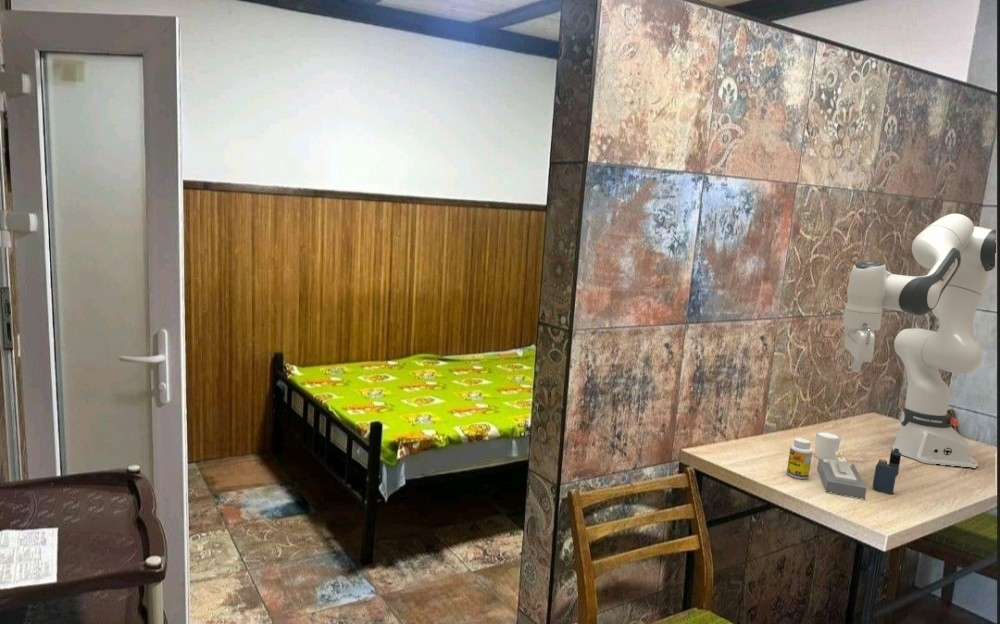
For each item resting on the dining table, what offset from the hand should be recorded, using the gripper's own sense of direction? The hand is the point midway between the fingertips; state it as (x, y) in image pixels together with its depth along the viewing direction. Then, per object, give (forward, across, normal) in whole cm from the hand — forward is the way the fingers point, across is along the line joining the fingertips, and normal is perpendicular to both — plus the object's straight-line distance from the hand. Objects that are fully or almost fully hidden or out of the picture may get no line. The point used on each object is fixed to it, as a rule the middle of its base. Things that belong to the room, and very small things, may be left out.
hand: (855, 371), depth 179 cm
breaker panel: (+30, -8, +2) cm, 31 cm away
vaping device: (+30, -8, -9) cm, 32 cm away
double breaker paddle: (+25, -8, +2) cm, 26 cm away
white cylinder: (+30, +13, +2) cm, 33 cm away
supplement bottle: (+30, -8, +12) cm, 33 cm away
